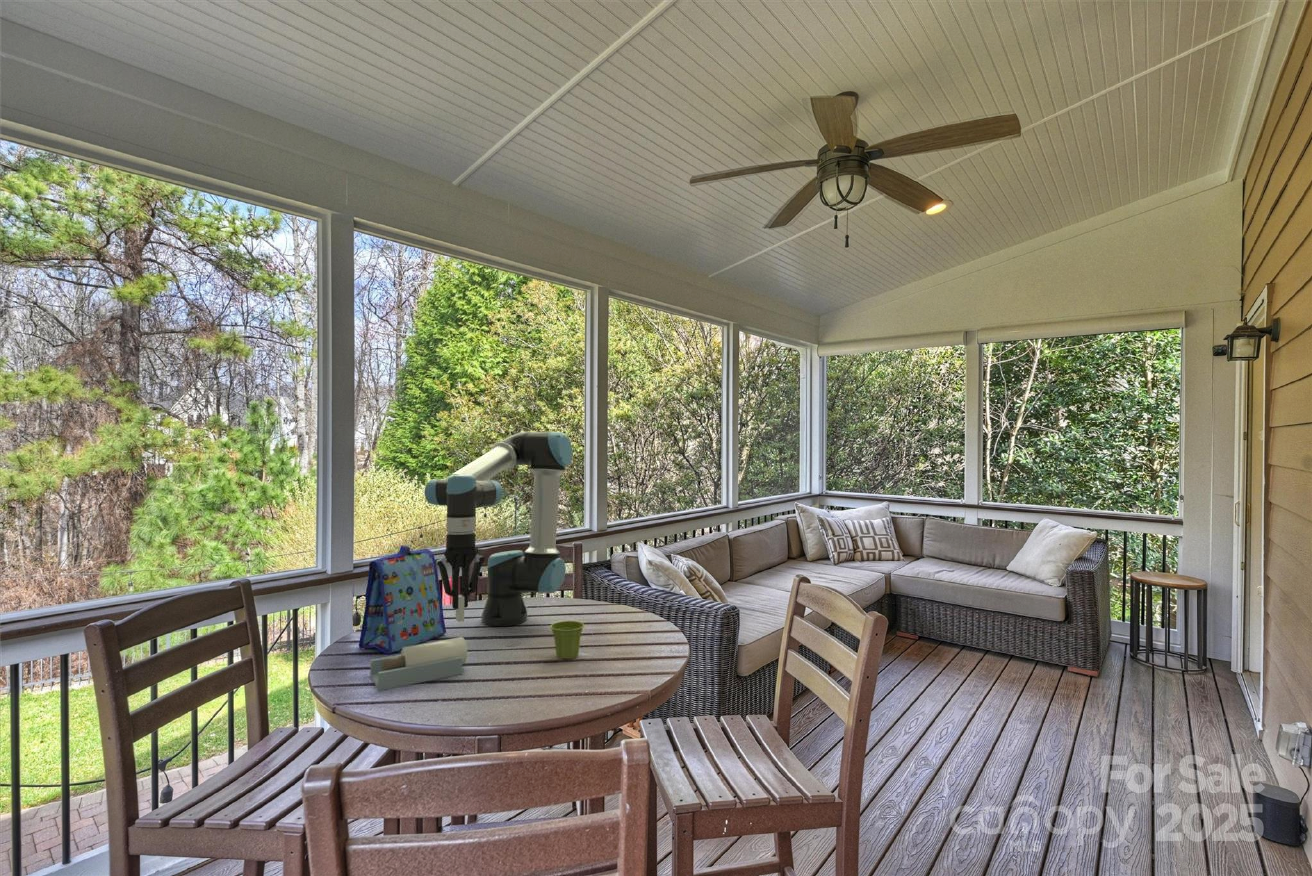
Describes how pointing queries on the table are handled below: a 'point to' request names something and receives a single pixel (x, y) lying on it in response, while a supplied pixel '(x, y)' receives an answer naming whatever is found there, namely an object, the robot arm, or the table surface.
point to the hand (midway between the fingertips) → (459, 620)
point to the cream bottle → (428, 653)
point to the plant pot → (567, 638)
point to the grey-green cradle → (413, 672)
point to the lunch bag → (402, 601)
